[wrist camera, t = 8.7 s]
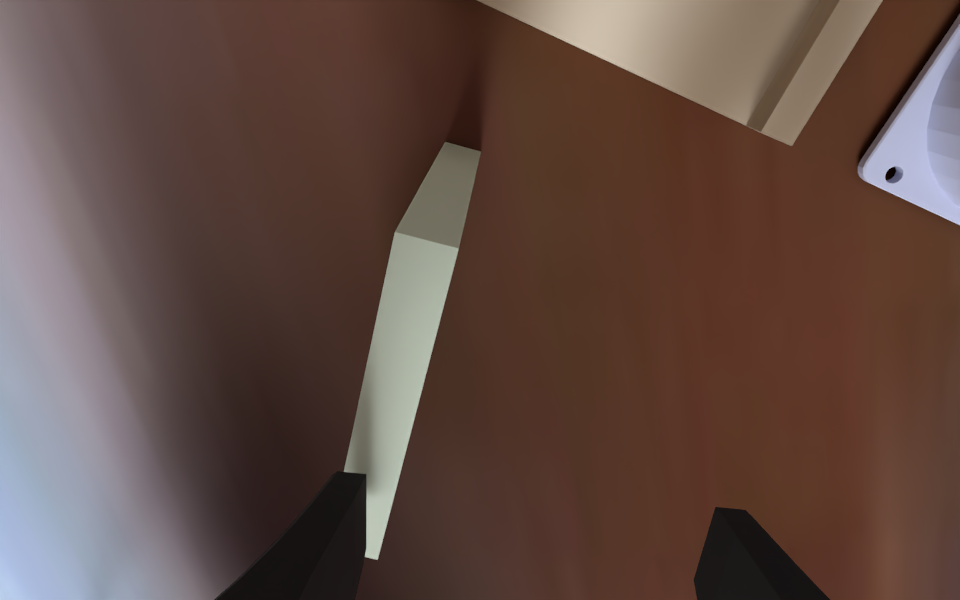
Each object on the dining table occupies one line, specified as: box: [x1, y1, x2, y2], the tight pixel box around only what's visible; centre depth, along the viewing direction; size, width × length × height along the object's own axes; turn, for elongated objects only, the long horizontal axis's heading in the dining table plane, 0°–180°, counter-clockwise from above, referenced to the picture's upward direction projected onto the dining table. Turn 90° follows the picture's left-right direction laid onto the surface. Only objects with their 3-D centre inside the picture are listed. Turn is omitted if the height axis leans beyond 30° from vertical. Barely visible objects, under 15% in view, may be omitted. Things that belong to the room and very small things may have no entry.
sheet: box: [344, 142, 481, 560], centre depth 17 cm, size 1×8×10 cm, turn 165°
